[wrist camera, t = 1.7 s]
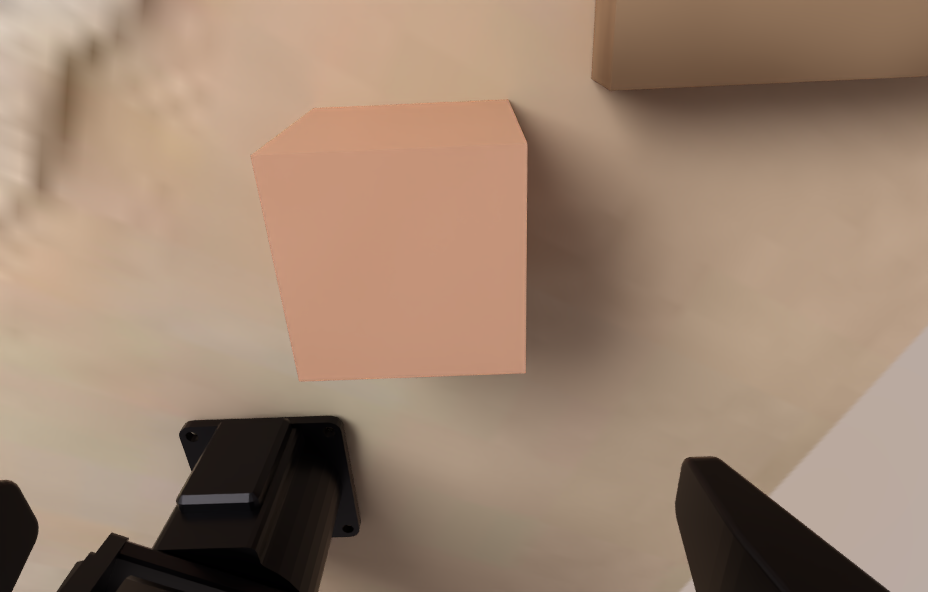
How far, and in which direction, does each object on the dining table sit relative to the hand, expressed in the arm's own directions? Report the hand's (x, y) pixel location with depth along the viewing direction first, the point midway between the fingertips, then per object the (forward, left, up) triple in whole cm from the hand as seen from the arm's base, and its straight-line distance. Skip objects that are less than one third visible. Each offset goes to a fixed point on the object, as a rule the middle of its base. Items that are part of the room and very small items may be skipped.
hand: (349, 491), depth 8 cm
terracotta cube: (0, 0, -13) cm, 13 cm away
